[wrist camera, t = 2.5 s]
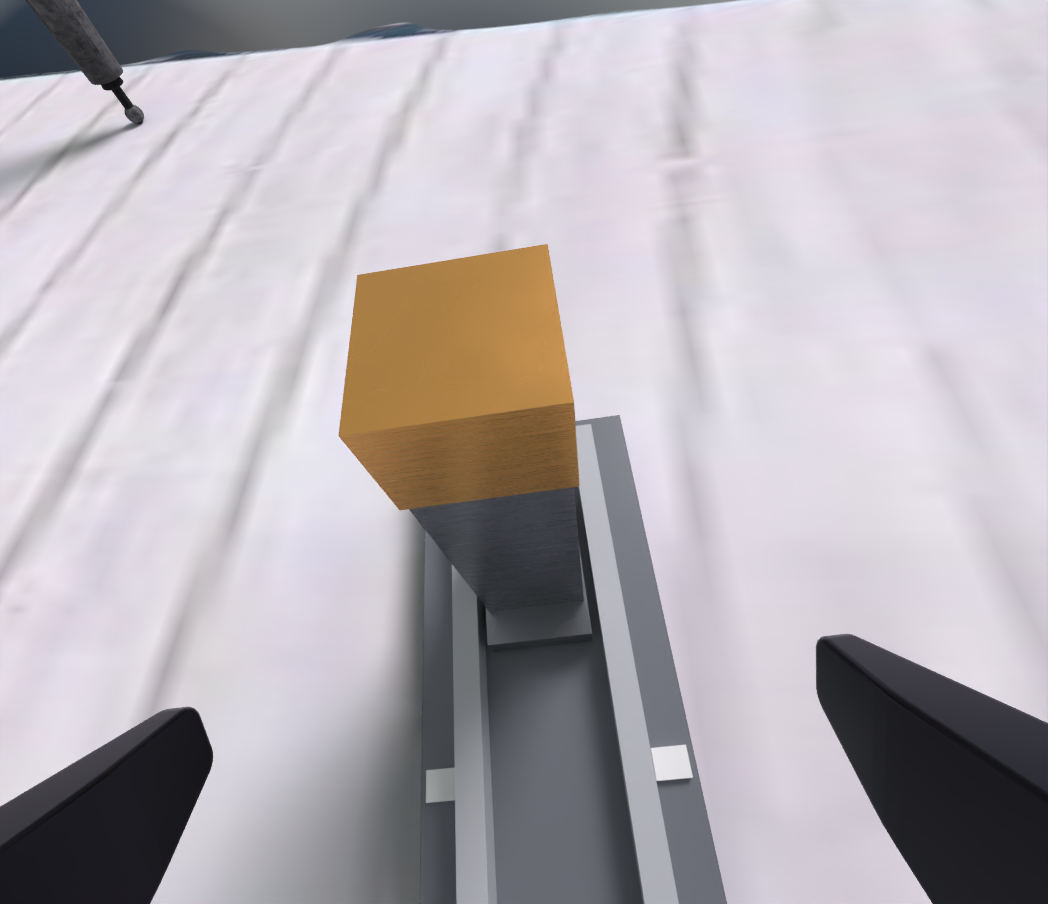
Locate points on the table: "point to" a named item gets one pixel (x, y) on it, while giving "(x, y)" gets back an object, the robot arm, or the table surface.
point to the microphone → (85, 47)
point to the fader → (476, 430)
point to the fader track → (563, 732)
